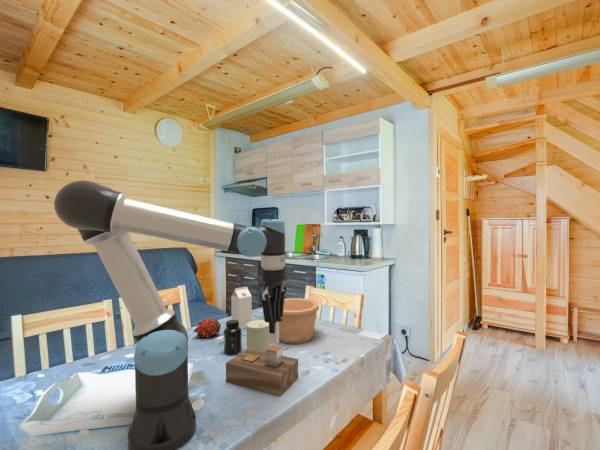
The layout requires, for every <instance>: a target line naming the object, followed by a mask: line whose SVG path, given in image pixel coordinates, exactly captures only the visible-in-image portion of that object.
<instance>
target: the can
mask: <svg viewBox="0 0 600 450" xmlns="http://www.w3.org/2000/svg"><path fill="white" fill-rule="evenodd" d="M246 327H247V328H246V349H252V350H257V351H261V352H266V350H265V349H267V348H268V347H270V346H271V342H269V323H268V322H265V320H264V319H254V320H252V321H251V322H248V323H247V324H246Z"/></svg>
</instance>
